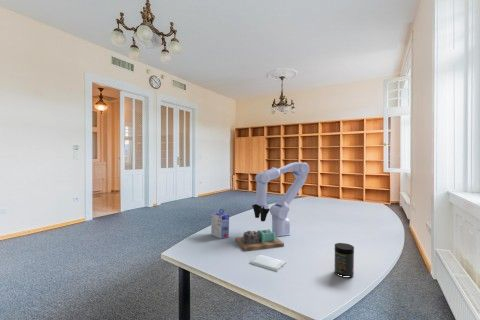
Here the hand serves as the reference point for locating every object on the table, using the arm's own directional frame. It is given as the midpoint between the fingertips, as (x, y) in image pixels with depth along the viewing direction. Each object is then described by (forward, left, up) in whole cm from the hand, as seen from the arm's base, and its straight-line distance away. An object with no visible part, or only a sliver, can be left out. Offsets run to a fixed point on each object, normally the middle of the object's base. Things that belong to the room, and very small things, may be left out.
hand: (259, 219), depth 132 cm
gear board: (+4, +9, -9) cm, 14 cm away
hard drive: (+10, +31, -10) cm, 34 cm away
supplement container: (-14, +48, -10) cm, 51 cm away
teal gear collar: (0, +9, -8) cm, 12 cm away
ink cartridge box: (+20, -8, -10) cm, 24 cm away
